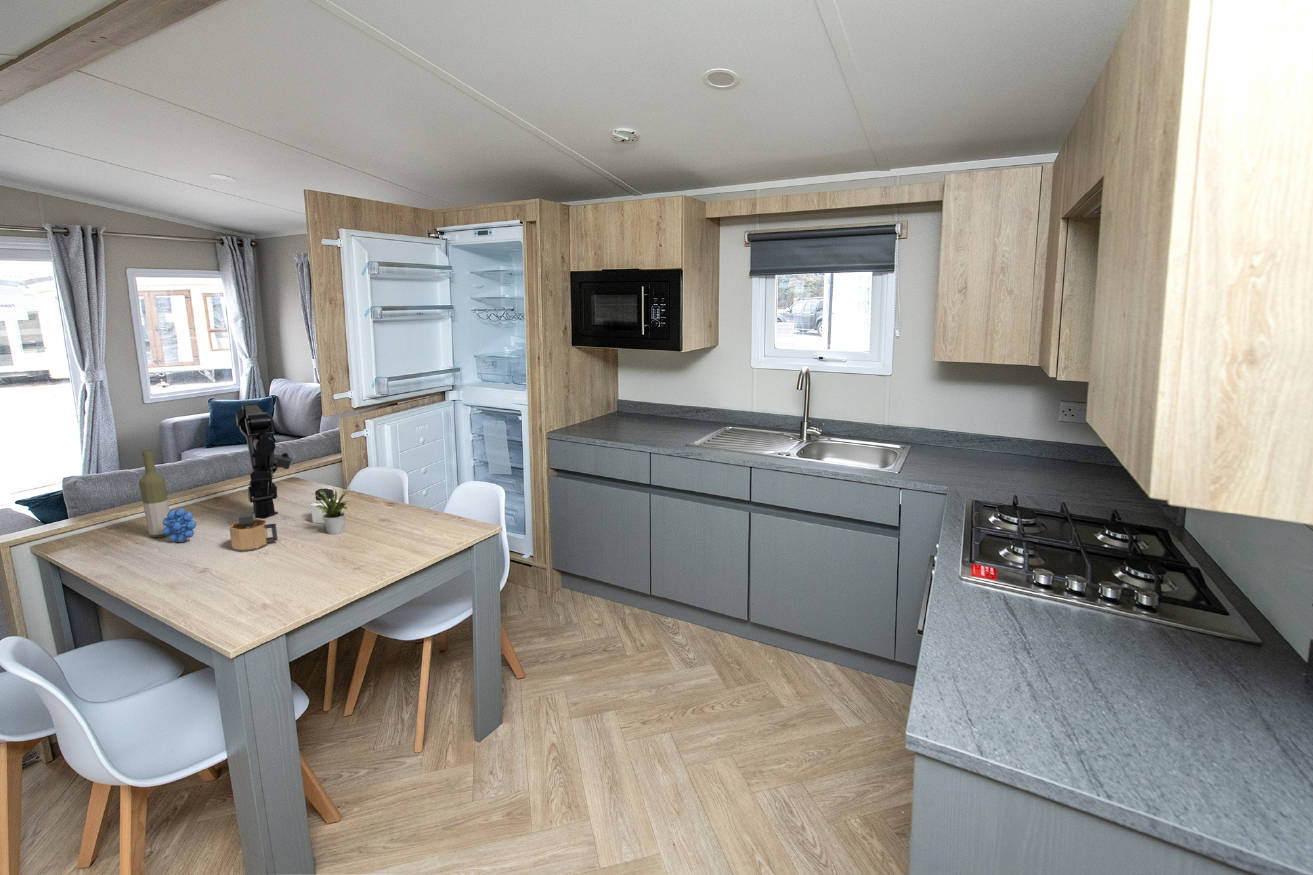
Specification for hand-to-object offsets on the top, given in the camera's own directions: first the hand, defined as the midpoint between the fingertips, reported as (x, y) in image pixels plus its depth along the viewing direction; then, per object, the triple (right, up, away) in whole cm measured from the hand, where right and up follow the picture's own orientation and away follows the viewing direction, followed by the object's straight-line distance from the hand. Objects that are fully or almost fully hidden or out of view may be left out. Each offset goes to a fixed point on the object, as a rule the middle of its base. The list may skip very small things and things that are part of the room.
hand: (267, 492), depth 227 cm
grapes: (-22, -16, -10) cm, 29 cm away
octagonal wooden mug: (+5, -16, -14) cm, 22 cm away
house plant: (+24, -14, -2) cm, 27 cm away
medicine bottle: (+16, -11, +11) cm, 22 cm away
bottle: (-34, -14, -5) cm, 37 cm away
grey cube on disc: (+3, -14, -15) cm, 21 cm away
